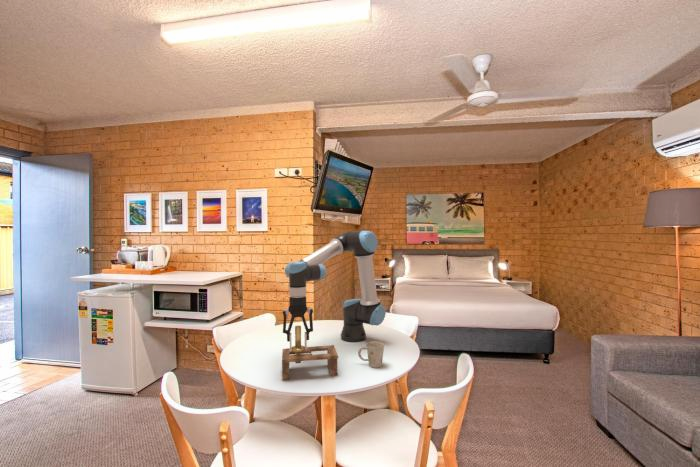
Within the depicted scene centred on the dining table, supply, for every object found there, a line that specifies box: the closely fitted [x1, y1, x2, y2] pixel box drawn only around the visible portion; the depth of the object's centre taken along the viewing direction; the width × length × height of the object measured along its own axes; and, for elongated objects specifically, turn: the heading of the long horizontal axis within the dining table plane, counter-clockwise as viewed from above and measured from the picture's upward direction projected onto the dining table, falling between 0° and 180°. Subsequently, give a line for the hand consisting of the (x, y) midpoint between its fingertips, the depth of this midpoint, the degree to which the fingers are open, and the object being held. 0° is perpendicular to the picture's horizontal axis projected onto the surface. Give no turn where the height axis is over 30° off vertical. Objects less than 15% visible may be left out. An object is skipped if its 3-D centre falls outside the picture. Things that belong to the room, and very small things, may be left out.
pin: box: [291, 325, 305, 364], centre depth 145 cm, size 6×6×16 cm
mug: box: [357, 340, 385, 369], centre depth 154 cm, size 8×13×10 cm, turn 78°
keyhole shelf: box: [281, 344, 339, 381], centre depth 146 cm, size 24×14×9 cm, turn 101°
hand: (298, 347), depth 145 cm, fingers closed on pin, 6 cm apart
